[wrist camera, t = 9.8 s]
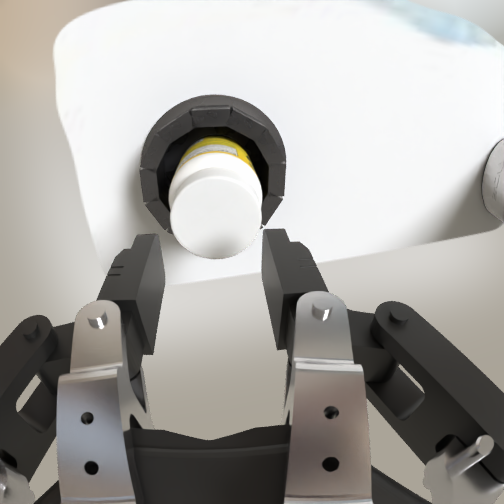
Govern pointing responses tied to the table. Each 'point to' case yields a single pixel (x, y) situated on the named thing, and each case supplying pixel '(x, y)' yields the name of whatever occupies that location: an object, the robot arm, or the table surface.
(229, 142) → the supplement bottle
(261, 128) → the barrel ring
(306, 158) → the table surface
